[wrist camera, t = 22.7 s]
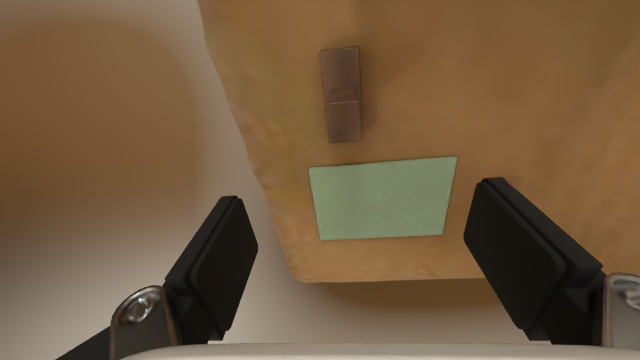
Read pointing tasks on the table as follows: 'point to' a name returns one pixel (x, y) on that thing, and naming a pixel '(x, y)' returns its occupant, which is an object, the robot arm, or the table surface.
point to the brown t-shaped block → (342, 93)
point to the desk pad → (382, 198)
